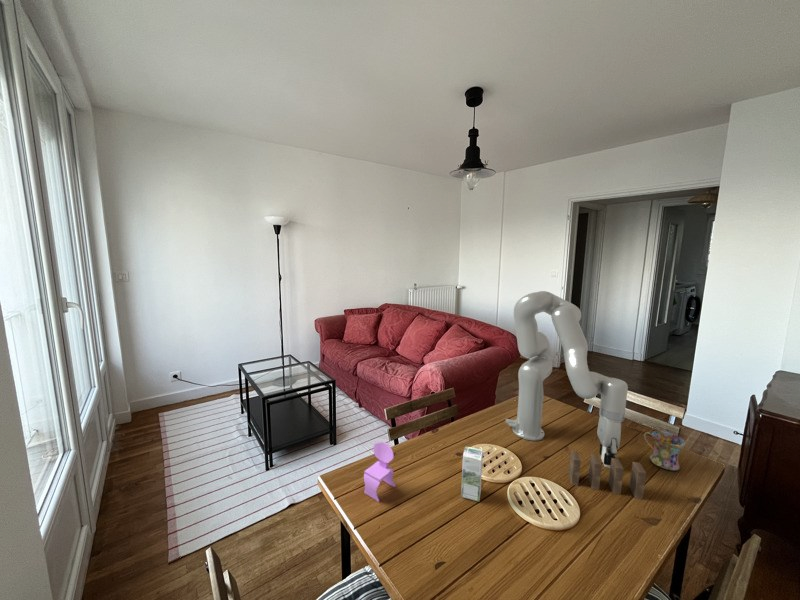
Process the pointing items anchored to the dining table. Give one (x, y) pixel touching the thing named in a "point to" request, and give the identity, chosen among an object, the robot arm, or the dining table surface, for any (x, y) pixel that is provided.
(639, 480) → the tile
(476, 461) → the syrup box
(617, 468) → the tile
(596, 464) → the tile
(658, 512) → the dining table surface
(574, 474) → the tile
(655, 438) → the mug
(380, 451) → the toy chair
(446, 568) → the dining table surface
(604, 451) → the white end domino
